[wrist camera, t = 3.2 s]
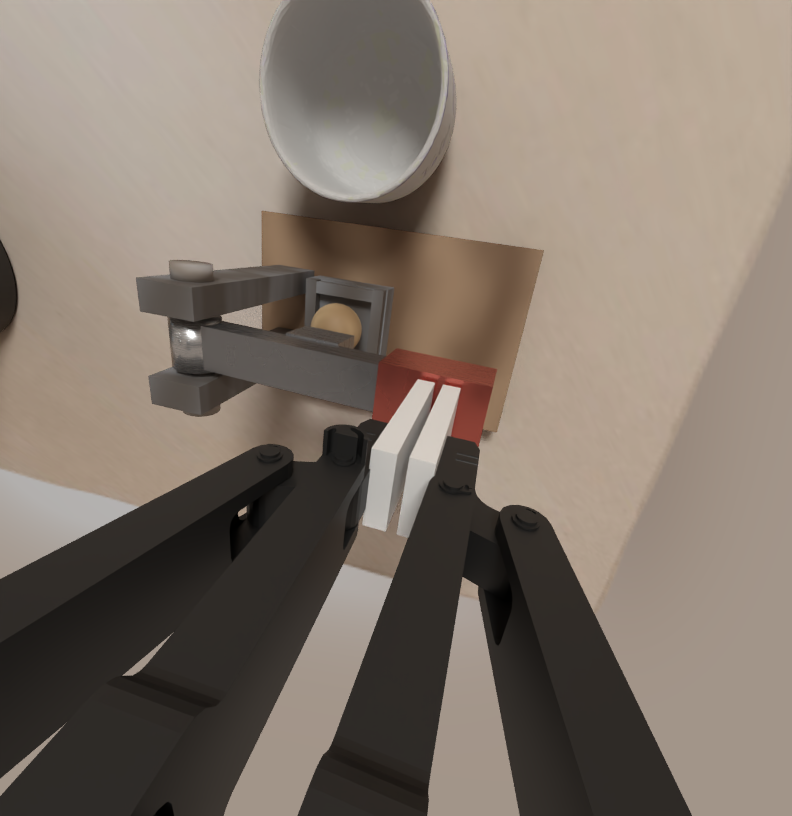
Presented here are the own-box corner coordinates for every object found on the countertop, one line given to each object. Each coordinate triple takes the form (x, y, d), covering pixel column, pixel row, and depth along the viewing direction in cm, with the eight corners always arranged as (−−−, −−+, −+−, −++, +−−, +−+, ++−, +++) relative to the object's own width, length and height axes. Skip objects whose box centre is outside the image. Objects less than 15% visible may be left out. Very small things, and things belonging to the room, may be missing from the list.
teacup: (465, 200, 29) (455, 185, 22) (326, 221, 32) (276, 214, 24) (453, -58, 24) (434, -187, 17) (290, -7, 27) (215, -100, 20)
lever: (216, 352, 26) (156, 372, 21) (213, 301, 24) (149, 312, 20) (485, 415, 22) (476, 454, 18) (499, 359, 21) (493, 387, 16)
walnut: (321, 343, 31) (301, 354, 28) (323, 296, 30) (303, 302, 27) (365, 352, 31) (349, 364, 27) (370, 304, 29) (354, 311, 26)
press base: (273, 375, 38) (136, 455, 23) (274, 212, 32) (95, 186, 18) (496, 422, 35) (497, 549, 20) (540, 250, 29) (585, 255, 15)
